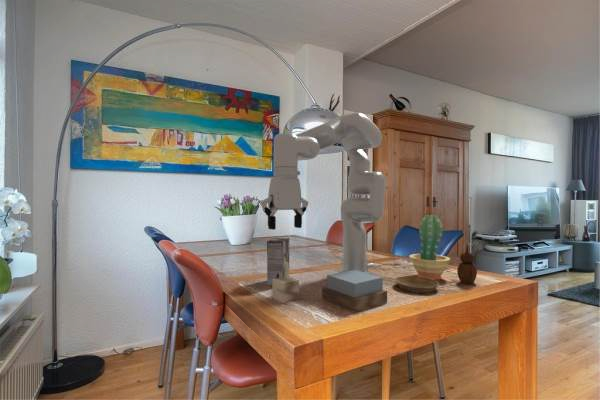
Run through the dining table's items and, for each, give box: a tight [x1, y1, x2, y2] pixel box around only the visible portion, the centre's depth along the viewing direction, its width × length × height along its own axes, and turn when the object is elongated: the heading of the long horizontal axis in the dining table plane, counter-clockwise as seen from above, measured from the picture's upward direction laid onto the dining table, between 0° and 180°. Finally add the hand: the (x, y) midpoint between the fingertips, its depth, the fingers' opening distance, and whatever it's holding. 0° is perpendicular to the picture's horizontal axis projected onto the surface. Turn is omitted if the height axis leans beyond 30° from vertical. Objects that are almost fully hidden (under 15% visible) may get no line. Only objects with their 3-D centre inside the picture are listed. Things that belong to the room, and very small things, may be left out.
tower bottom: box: [321, 286, 388, 313], centre depth 95 cm, size 14×14×4 cm
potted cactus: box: [409, 214, 451, 281], centre depth 124 cm, size 15×15×25 cm
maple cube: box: [271, 275, 300, 304], centre depth 97 cm, size 6×6×6 cm
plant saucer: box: [394, 275, 440, 294], centre depth 109 cm, size 15×15×3 cm
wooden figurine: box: [456, 243, 478, 284], centre depth 116 cm, size 7×6×15 cm
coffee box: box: [266, 237, 290, 286], centre depth 115 cm, size 9×6×16 cm
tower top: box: [326, 270, 384, 298], centre depth 95 cm, size 12×12×4 cm
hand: (285, 228), depth 97 cm, fingers open, 9 cm apart
